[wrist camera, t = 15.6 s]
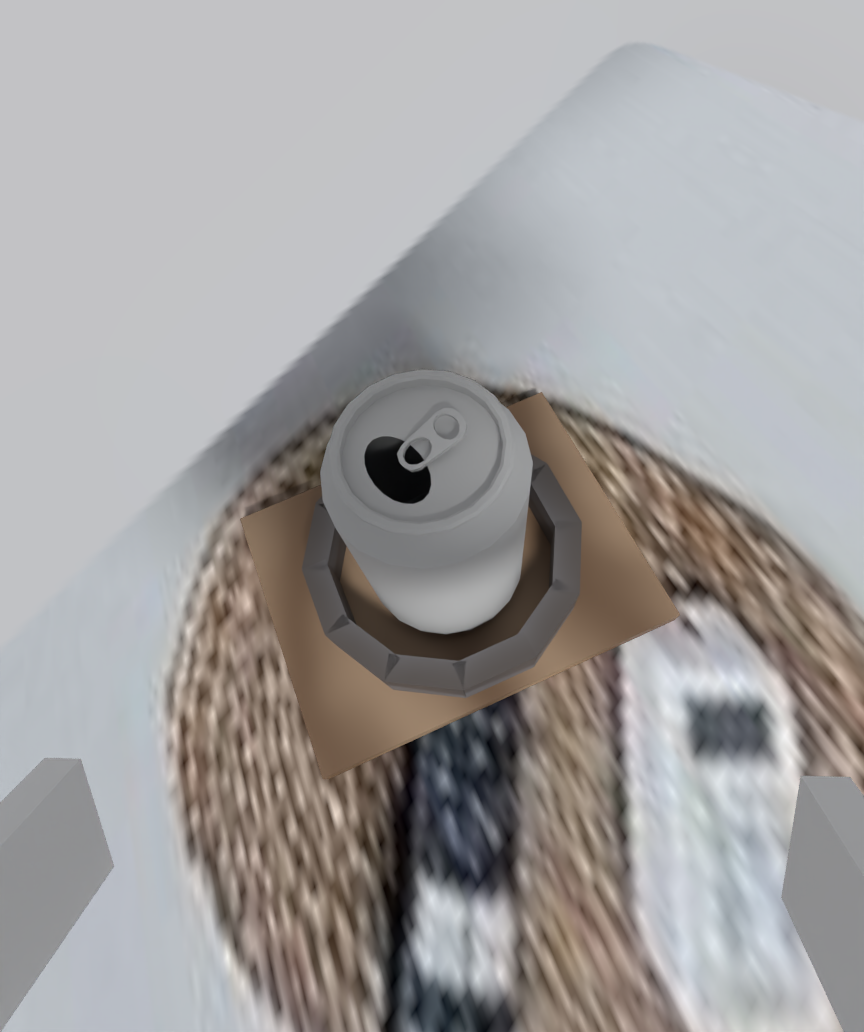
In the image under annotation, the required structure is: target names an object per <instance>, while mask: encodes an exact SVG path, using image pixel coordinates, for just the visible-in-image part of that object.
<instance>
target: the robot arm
mask: <svg viewBox="0 0 864 1032" xmlns="http://www.w3.org/2000/svg"><path fill="white" fill-rule="evenodd" d="M113 867H114V864H113V861H112V858H111V855H110V851H109V848H108V845H107V842H106V838H105V835H104V832H103V829H102V826H101V822H100V819H99V816H98V813H97V810H96V806H95V803H94V800H93V797H92V793H91V790H90V787H89V784H88V781H87V777H86V774H85V771H84V768H83V764H82V761H81V759H65V758H44V759H43V760H42V761H41V762H40V763H39V764H38V765H37V766H36V767H35V768H34V769H33V770H32V771H31V772H30V773H29V774H28V775H27V776H26V777H25V778H24V779H23V780H22V781H21V782H20V783H19V784H18V785H17V786H16V787H15V788H14V789H13V790H12V791H11V792H10V793H9V794H8V795H7V796H6V797H5V798H4V799H3V800H2V801H1V802H0V1032H1V1031H2V1029H3V1028H4V1026H5V1025H6V1024H7V1022H8V1021H9V1019H10V1018H11V1016H12V1015H13V1013H14V1012H15V1010H16V1009H17V1007H18V1006H19V1005H20V1003H21V1002H22V1000H23V999H24V997H25V996H26V994H27V993H28V991H29V990H30V988H31V987H32V986H33V984H34V983H35V981H36V980H37V978H38V977H39V975H40V974H41V972H42V971H43V969H44V968H45V967H46V965H47V964H48V962H49V961H50V959H51V958H52V956H53V955H54V953H55V952H56V950H57V949H58V948H59V946H60V945H61V943H62V942H63V940H64V939H65V937H66V936H67V934H68V933H69V931H70V930H71V929H72V927H73V926H74V924H75V923H76V921H77V920H78V918H79V917H80V915H81V914H82V912H83V911H84V910H85V908H86V907H87V905H88V904H89V902H90V901H91V899H92V898H93V896H94V895H95V893H96V892H97V891H98V889H99V888H100V886H101V885H102V883H103V882H104V880H105V879H106V877H107V876H108V875H109V873H110V872H111V870H112V869H113ZM781 898H782V900H783V902H784V904H785V906H786V909H787V911H788V913H789V915H790V917H791V919H792V921H793V924H794V926H795V928H796V930H797V932H798V934H799V937H800V939H801V941H802V943H803V945H804V947H805V949H806V952H807V954H808V956H809V958H810V960H811V962H812V965H813V967H814V969H815V971H816V973H817V975H818V977H819V980H820V982H821V984H822V986H823V988H824V990H825V992H826V995H827V997H828V999H829V1001H830V1003H831V1005H832V1008H833V1010H834V1012H835V1014H836V1016H837V1018H838V1020H839V1023H840V1025H841V1027H842V1029H843V1031H844V1032H864V796H863V794H862V793H861V792H860V790H859V789H858V787H857V786H856V785H855V783H854V782H853V781H852V779H851V778H850V777H825V776H801V778H800V785H799V791H798V797H797V803H796V809H795V816H794V822H793V828H792V834H791V841H790V847H789V853H788V859H787V866H786V872H785V878H784V884H783V890H782V897H781Z"/></svg>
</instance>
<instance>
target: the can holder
mask: <svg viewBox="0 0 864 1032" xmlns="http://www.w3.org/2000/svg"><path fill="white" fill-rule="evenodd" d="M506 408H507V409H509V411H510V412H511V413H512V415H513V416H514V418H515V419H516V421H517V422H518V424H519V425H520V427H521V428H522V430H523V431H524V432H525V434H526V438H527V441H528V445H529V449H530V453H531V457H532V461H533V467H532V476H531V486H530V495H529V504H528V513H527V522H526V531H525V540H524V548H523V557H522V566H521V575H520V580H519V582H518V585H517V587H516V589H515V591H514V593H513V595H512V597H511V599H510V601H509V602H508V603H507V604H506V605H505V606H504V607H503V608H502V609H501V610H500V611H499V612H498V614H497V615H496V616H495V617H494V618H493V619H491V620H489V621H487V622H485V623H483V624H481V625H479V626H477V627H476V628H474V629H472V630H468V631H463V632H457V633H451V634H439V633H431V632H424V631H420V630H418V629H416V628H414V627H412V626H410V625H408V624H406V623H404V622H402V621H400V620H398V619H397V618H396V617H395V616H394V615H393V614H392V613H391V612H390V611H389V610H388V609H387V608H386V607H385V606H384V605H383V604H382V602H381V600H380V599H379V597H378V596H377V594H376V592H375V591H374V589H373V588H372V586H371V584H370V583H369V581H368V579H367V578H366V576H365V575H364V573H363V571H362V570H361V568H360V567H359V565H358V563H357V562H356V560H355V559H354V557H353V555H352V554H351V552H350V550H349V549H348V547H347V546H346V544H345V542H344V541H343V539H342V538H341V536H340V534H339V533H338V531H337V530H336V528H335V526H334V524H333V521H332V519H331V517H330V515H329V513H328V511H327V509H326V507H325V505H324V503H323V498H322V487H321V485H319V486H317V487H315V488H312V489H310V490H307V491H305V492H303V493H300V494H298V495H296V496H293V497H291V498H288V499H286V500H284V501H281V502H279V503H277V504H274V505H272V506H269V507H267V508H265V509H262V510H260V511H257V512H255V513H253V514H250V515H248V516H246V517H243V518H241V519H240V520H241V523H242V526H243V530H244V533H245V536H246V539H247V542H248V545H249V548H250V552H251V555H252V558H253V561H254V564H255V567H256V570H257V574H258V577H259V580H260V583H261V586H262V589H263V592H264V596H265V599H266V602H267V605H268V608H269V611H270V614H271V618H272V621H273V624H274V627H275V630H276V633H277V636H278V640H279V643H280V646H281V649H282V652H283V655H284V658H285V662H286V665H287V668H288V671H289V674H290V677H291V681H292V684H293V687H294V690H295V693H296V696H297V699H298V703H299V706H300V709H301V712H302V715H303V718H304V721H305V725H306V728H307V731H308V734H309V737H310V740H311V743H312V747H313V750H314V753H315V756H316V759H317V762H318V765H319V769H320V772H321V775H322V778H323V779H330V778H332V777H335V776H337V775H339V774H341V773H343V772H345V771H348V770H350V769H352V768H354V767H356V766H358V765H361V764H363V763H365V762H367V761H369V760H371V759H374V758H376V757H378V756H380V755H382V754H384V753H387V752H389V751H391V750H393V749H395V748H398V747H400V746H402V745H404V744H406V743H408V742H411V741H413V740H415V739H417V738H419V737H421V736H424V735H426V734H428V733H430V732H432V731H434V730H437V729H439V728H441V727H443V726H445V725H447V724H450V723H452V722H454V721H456V720H458V719H461V718H463V717H465V716H467V715H469V714H471V713H474V712H476V711H478V710H480V709H482V708H484V707H487V706H489V705H491V704H493V703H495V702H497V701H500V700H502V699H504V698H506V697H508V696H510V695H513V694H515V693H517V692H519V691H521V690H524V689H526V688H528V687H530V686H532V685H534V684H537V683H539V682H541V681H543V680H545V679H547V678H550V677H552V676H554V675H556V674H558V673H560V672H563V671H565V670H567V669H569V668H571V667H573V666H576V665H578V664H580V663H582V662H584V661H587V660H589V659H591V658H593V657H595V656H597V655H600V654H602V653H604V652H606V651H608V650H610V649H613V648H615V647H617V646H619V645H621V644H623V643H626V642H628V641H630V640H632V639H634V638H636V637H639V636H641V635H643V634H645V633H647V632H650V631H652V630H654V629H656V628H658V627H660V626H663V625H665V624H667V623H669V622H671V621H673V620H675V619H676V618H677V617H678V616H679V615H680V614H679V612H678V611H677V609H676V607H675V606H674V604H673V603H672V601H671V599H670V598H669V596H668V594H667V593H666V591H665V590H664V588H663V586H662V585H661V583H660V582H659V580H658V578H657V577H656V575H655V574H654V572H653V570H652V569H651V567H650V566H649V564H648V562H647V561H646V559H645V557H644V556H643V554H642V553H641V551H640V549H639V548H638V546H637V545H636V543H635V541H634V540H633V538H632V537H631V535H630V533H629V532H628V530H627V529H626V527H625V525H624V524H623V522H622V520H621V519H620V517H619V516H618V514H617V512H616V511H615V509H614V508H613V506H612V504H611V503H610V501H609V500H608V498H607V496H606V495H605V493H604V491H603V490H602V488H601V487H600V485H599V483H598V482H597V480H596V479H595V477H594V475H593V474H592V472H591V471H590V469H589V467H588V466H587V464H586V463H585V461H584V459H583V458H582V456H581V454H580V453H579V451H578V450H577V448H576V446H575V445H574V443H573V442H572V440H571V438H570V437H569V435H568V434H567V432H566V430H565V429H564V427H563V426H562V424H561V422H560V421H559V419H558V417H557V416H556V414H555V413H554V411H553V409H552V408H551V406H550V405H549V403H548V401H547V400H546V398H545V397H544V395H543V393H542V392H541V393H539V394H536V395H534V396H531V397H529V398H527V399H524V400H522V401H519V402H517V403H515V404H512V405H510V406H508V407H506Z"/></svg>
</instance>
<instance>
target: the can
mask: <svg viewBox="0 0 864 1032" xmlns="http://www.w3.org/2000/svg"><path fill="white" fill-rule="evenodd" d="M532 467H533V461H532V457H531V453H530V449H529V445H528V441H527V438H526V434H525V432H524V431H523V430H522V428H521V427H520V425H519V424H518V422H517V421H516V419H515V418H514V416H513V415H512V413H511V412H510V411H509V409H507V408H506V407H505V406H503V405H502V404H501V403H500V402H499V401H498V399H497V398H496V396H495V395H493V394H492V393H491V392H489V391H488V390H487V389H485V388H484V387H483V386H481V385H480V384H479V383H477V382H476V381H474V380H472V379H469V378H466V377H464V376H461V375H458V374H455V373H453V372H450V371H440V370H426V369H419V370H414V371H409V372H403V373H398V374H393V375H391V376H389V377H387V378H385V379H383V380H381V381H379V382H376V383H374V384H372V385H370V386H368V387H367V388H366V389H365V390H364V391H362V392H361V393H360V394H359V395H358V396H357V397H355V398H354V399H353V400H352V401H351V402H350V403H349V404H348V405H347V406H346V408H345V409H344V411H343V412H342V414H341V416H340V417H339V419H338V420H337V422H336V423H335V425H334V427H333V431H332V435H331V439H330V441H329V442H328V444H327V448H326V451H325V455H324V459H323V463H322V467H321V471H320V476H321V487H322V498H323V503H324V505H325V507H326V509H327V511H328V513H329V515H330V517H331V519H332V521H333V524H334V526H335V528H336V530H337V531H338V533H339V534H340V536H341V538H342V539H343V541H344V542H345V544H346V546H347V547H348V549H349V550H350V552H351V554H352V555H353V557H354V559H355V560H356V562H357V563H358V565H359V567H360V568H361V570H362V571H363V573H364V575H365V576H366V578H367V579H368V581H369V583H370V584H371V586H372V588H373V589H374V591H375V592H376V594H377V596H378V597H379V599H380V600H381V602H382V604H383V605H384V606H385V607H386V608H387V609H388V610H389V611H390V612H391V613H392V614H393V615H394V616H395V617H396V618H397V619H398V620H400V621H402V622H404V623H406V624H408V625H410V626H412V627H414V628H416V629H418V630H420V631H424V632H431V633H439V634H451V633H457V632H463V631H468V630H472V629H474V628H476V627H477V626H479V625H481V624H483V623H485V622H487V621H489V620H491V619H493V618H494V617H495V616H496V615H497V614H498V612H499V611H500V610H501V609H502V608H503V607H504V606H505V605H506V604H507V603H508V602H509V601H510V599H511V597H512V595H513V593H514V591H515V589H516V587H517V585H518V582H519V580H520V575H521V566H522V557H523V548H524V540H525V531H526V522H527V513H528V504H529V495H530V486H531V476H532Z"/></svg>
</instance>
